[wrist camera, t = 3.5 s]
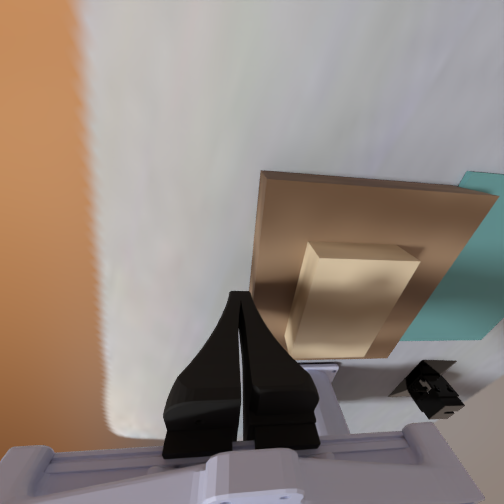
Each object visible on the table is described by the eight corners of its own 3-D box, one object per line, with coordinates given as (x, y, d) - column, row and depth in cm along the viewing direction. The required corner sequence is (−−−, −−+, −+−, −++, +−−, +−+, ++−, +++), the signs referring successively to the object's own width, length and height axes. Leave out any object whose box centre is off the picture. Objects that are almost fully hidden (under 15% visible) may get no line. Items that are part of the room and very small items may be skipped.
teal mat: (477, 337, 24) (480, 340, 24) (370, 338, 23) (372, 341, 23) (626, 185, 15) (635, 186, 15) (467, 171, 14) (472, 171, 14)
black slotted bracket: (415, 395, 33) (440, 432, 29) (375, 396, 32) (395, 434, 28) (466, 349, 27) (506, 387, 23) (418, 348, 26) (451, 387, 22)
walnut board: (369, 332, 22) (387, 358, 20) (245, 333, 21) (246, 361, 18) (452, 185, 14) (499, 196, 12) (260, 170, 13) (267, 179, 10)
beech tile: (351, 335, 18) (363, 357, 16) (284, 335, 17) (290, 358, 15) (396, 244, 13) (420, 261, 11) (307, 241, 12) (319, 258, 11)
